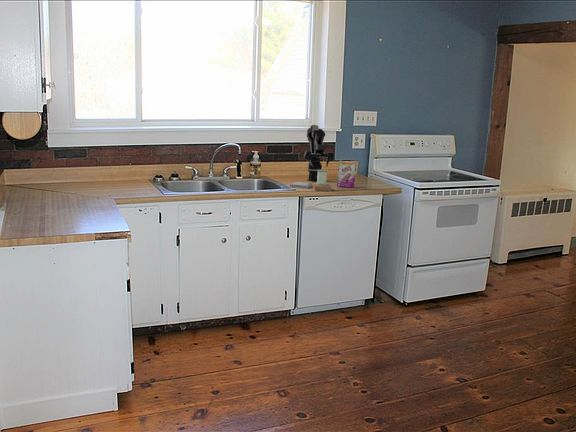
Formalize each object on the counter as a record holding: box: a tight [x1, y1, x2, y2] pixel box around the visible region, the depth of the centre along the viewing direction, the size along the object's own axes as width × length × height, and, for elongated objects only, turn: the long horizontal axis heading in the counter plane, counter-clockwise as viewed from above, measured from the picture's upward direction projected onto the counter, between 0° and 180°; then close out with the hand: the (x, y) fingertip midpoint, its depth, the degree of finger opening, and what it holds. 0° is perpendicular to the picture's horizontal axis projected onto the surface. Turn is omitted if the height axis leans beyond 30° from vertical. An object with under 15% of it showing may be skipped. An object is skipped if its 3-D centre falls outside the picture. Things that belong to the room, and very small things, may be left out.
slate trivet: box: [289, 181, 315, 189], centre depth 374 cm, size 12×12×2 cm
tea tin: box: [316, 169, 328, 185], centre depth 365 cm, size 4×5×9 cm
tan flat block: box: [312, 183, 332, 192], centre depth 365 cm, size 8×10×3 cm
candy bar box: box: [336, 160, 357, 188], centre depth 378 cm, size 11×5×16 cm, turn 84°
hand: (319, 166), depth 371 cm, fingers open, 9 cm apart
